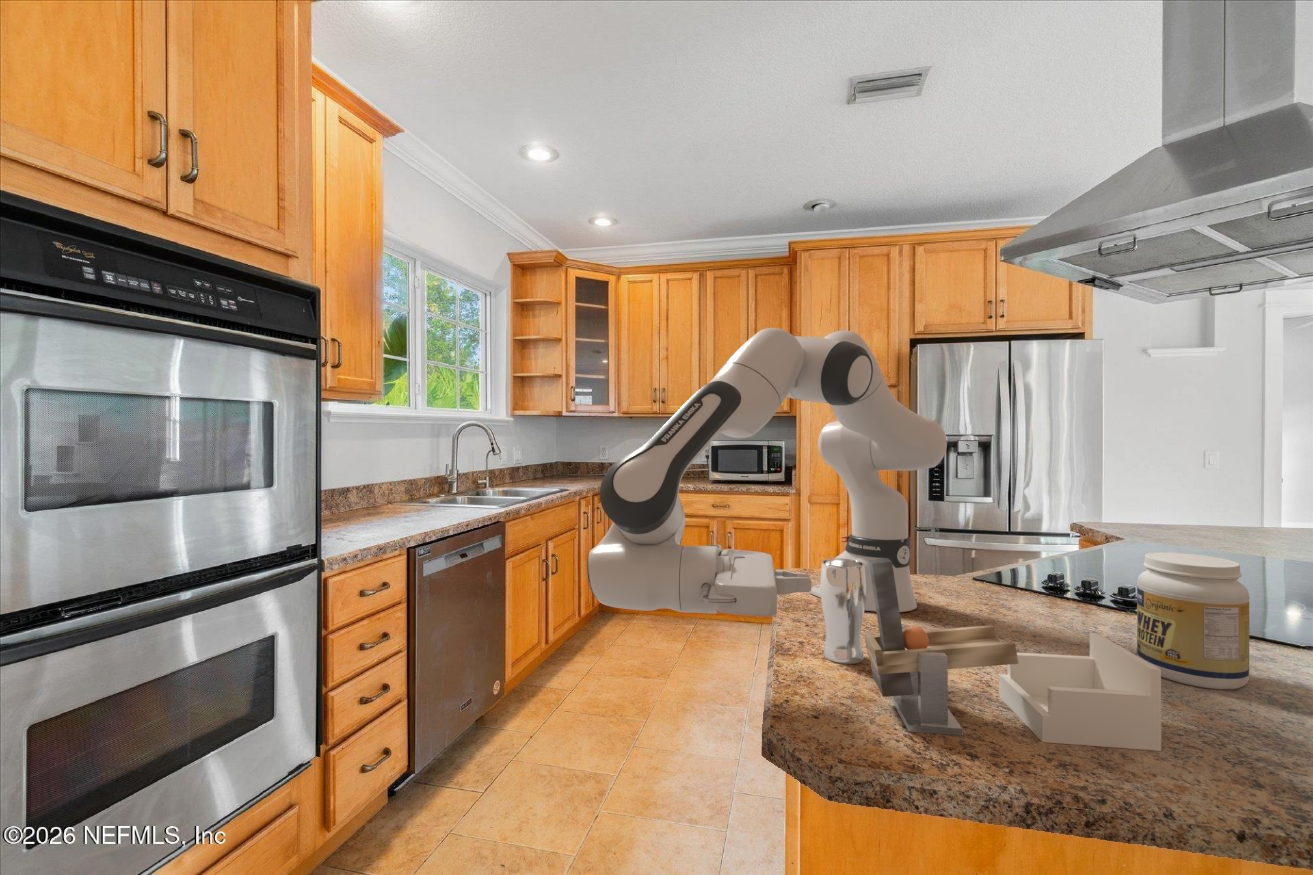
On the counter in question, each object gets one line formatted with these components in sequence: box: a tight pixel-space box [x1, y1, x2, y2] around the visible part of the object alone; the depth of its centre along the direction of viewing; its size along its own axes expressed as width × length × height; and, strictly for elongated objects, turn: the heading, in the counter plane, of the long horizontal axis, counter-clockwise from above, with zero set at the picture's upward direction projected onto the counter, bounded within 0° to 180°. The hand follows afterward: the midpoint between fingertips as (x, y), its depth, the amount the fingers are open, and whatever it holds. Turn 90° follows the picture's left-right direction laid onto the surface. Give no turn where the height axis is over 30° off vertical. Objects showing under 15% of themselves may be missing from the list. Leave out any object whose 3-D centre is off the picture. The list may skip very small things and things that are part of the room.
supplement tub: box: [1136, 551, 1251, 690], centre depth 86 cm, size 12×12×17 cm
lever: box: [863, 558, 1018, 698], centre depth 74 cm, size 16×8×16 cm, turn 81°
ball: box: [903, 626, 929, 650], centre depth 75 cm, size 3×3×3 cm
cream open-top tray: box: [998, 633, 1162, 752], centre depth 72 cm, size 12×12×9 cm
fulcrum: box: [889, 625, 964, 736], centre depth 75 cm, size 6×12×9 cm, turn 171°
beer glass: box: [819, 557, 866, 665], centre depth 93 cm, size 7×7×15 cm
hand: (810, 582), depth 77 cm, fingers closed
